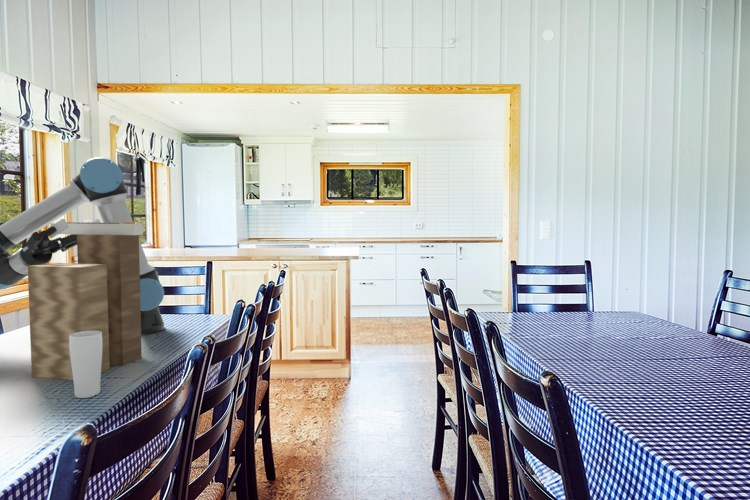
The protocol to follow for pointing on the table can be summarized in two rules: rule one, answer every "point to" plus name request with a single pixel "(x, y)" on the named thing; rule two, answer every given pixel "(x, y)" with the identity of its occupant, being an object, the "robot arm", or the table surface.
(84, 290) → the stepped stand
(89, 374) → the drinking glass
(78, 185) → the robot arm
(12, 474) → the table surface
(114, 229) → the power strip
